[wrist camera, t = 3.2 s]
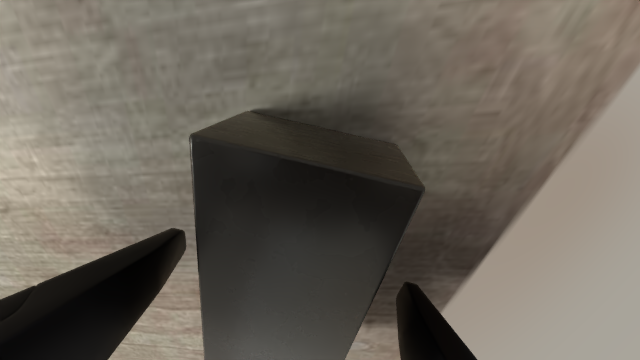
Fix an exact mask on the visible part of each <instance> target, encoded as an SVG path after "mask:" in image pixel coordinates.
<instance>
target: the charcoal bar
mask: <svg viewBox="0 0 640 360" xmlns="http://www.w3.org/2000/svg"><path fill="white" fill-rule="evenodd" d="M189 142H190V157H191V171H192V186H193V200H194V215H195V229H196V244H197V259H198V273H199V288H200V302H201V317H202V331H203V346H204V360H345V358H346V356H347V354H348V352H349V349H350V347H351V345H352V343H353V341H354V339H355V337H356V335H357V333H358V331H359V328H360V326H361V324H362V322H363V320H364V318H365V316H366V314H367V312H368V310H369V307H370V305H371V303H372V301H373V299H374V297H375V295H376V293H377V291H378V289H379V286H380V284H381V282H382V280H383V278H384V276H385V274H386V272H387V270H388V268H389V265H390V263H391V261H392V259H393V257H394V255H395V253H396V251H397V249H398V247H399V244H400V242H401V240H402V238H403V236H404V234H405V232H406V230H407V228H408V226H409V223H410V221H411V219H412V217H413V215H414V213H415V211H416V209H417V207H418V205H419V202H420V200H421V198H422V196H423V194H424V192H425V187H424V185H423V184H422V182H421V181H420V179H419V178H418V176H417V174H416V173H415V171H414V170H413V168H412V167H411V165H410V164H409V162H408V161H407V159H406V158H405V156H404V155H403V153H402V152H401V150H400V149H399V147H398V146H397V145H395V144H391V143H387V142H382V141H378V140H373V139H369V138H365V137H360V136H356V135H351V134H347V133H342V132H338V131H334V130H329V129H325V128H320V127H316V126H312V125H307V124H303V123H298V122H294V121H289V120H285V119H281V118H276V117H272V116H267V115H263V114H259V113H254V112H250V111H245V112H243V113H241V114H238V115H236V116H233V117H231V118H229V119H226V120H224V121H221V122H219V123H217V124H214V125H212V126H209V127H207V128H204V129H202V130H200V131H197V132H195V133H192V134H191V135H190V137H189Z"/></svg>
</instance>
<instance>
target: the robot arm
mask: <svg viewBox="0 0 640 360" xmlns="http://www.w3.org/2000/svg"><path fill="white" fill-rule="evenodd" d="M185 250H186V239H185V232H184V231H183V230H180V229H176V228H171V229H169V230H166V231H164V232H161V233H159V234H157V235H154V236H152V237H150V238H147V239H145V240H142V241H140V242H138V243H135V244H133V245H130V246H128V247H126V248H123V249H121V250H118V251H116V252H114V253H111V254H109V255H106V256H104V257H102V258H99V259H97V260H94V261H92V262H90V263H87V264H85V265H83V266H80V267H78V268H75V269H73V270H71V271H68V272H66V273H63V274H61V275H59V276H56V277H54V278H51V279H49V280H47V281H44V282H42V283H39V284H38V285H37V286H32V287H30V288H27V289H25V290H22V291H20V292H18V293H15V294H13V295H10V296H8V297H5V298H3V299H0V360H108V359H109V357H110V356H111V355H112V353H113V352H114V351H115V349H116V348H117V347H118V346H119V344H120V343H121V342H122V340H123V339H124V338H125V336H126V335H127V334H128V332H129V331H130V330H131V329H132V327H133V326H134V325H135V323H136V322H137V321H138V319H139V318H140V317H141V315H142V314H143V313H144V312H145V310H146V309H147V308H148V306H149V305H150V304H151V302H152V301H153V300H154V298H155V297H156V296H157V294H158V293H159V292H160V290H161V289H162V287H163V286H164V284H165V283H166V281H167V279H168V278H169V276H170V275H171V273H172V271H173V270H174V268H175V267H176V265H177V263H178V262H179V260H180V259H181V257H182V255H183V254H184V252H185ZM396 307H397V324H398V340H399V350H400V356H401V360H477V359H476V357H475V356H474V355H473V354H472V352H471V351H470V350H469V349H468V347H467V346H466V345H465V344H464V343H463V341H462V340H461V339H460V338H459V336H458V335H457V334H456V333H455V331H454V330H453V329H452V328H451V326H450V325H449V324H448V323H447V321H446V320H445V319H444V318H443V316H442V315H441V314H440V313H439V311H438V310H437V309H436V308H435V306H434V305H433V304H432V303H431V301H430V300H429V299H428V298H427V296H426V295H425V294H424V293H423V291H422V290H421V289H420V288H419V286H418V285H417V284H414V283H410V282H405V283H404V284H403V285H402V287H401V289H400V291H399V293H398V295H397V298H396Z"/></svg>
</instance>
